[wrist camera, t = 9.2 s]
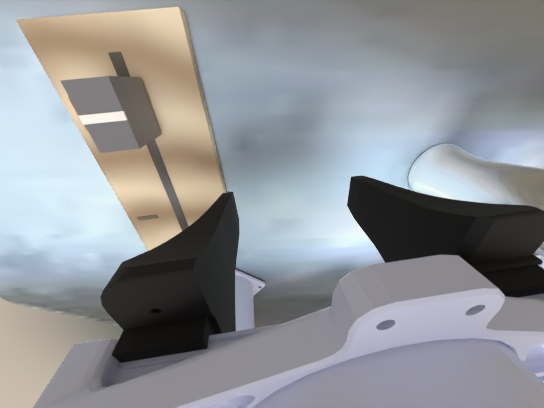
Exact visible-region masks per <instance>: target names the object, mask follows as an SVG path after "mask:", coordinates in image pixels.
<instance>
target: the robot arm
mask: <svg viewBox="0 0 544 408" xmlns="http://www.w3.org/2000/svg"><path fill="white" fill-rule="evenodd" d="M347 206H348V208H349V210H350V212H351V214H352V215H353V217H354V219H355V220H356V221H357V223H358V224H359V225H360V227H361V228H362V229H363V231H364V232H365V233H366V235H367V236H368V237H369V239H370V240H371V241H372V242H373V244H374V245H375V247H376V248H377V250H378V251H379V253H380V254H381V256H382V258H383V259H384V261H385V263H381V264H374V265H368V266H365V267H361V268H358V269H355V270H352V271H351V272H350V273H348V274H347V275H346V276H344V277H343V278H341V279H340V281H339V282H338V284H337V286H336V288H335V290H334V292H333V297H332V304H331V307H327V308H325V309H322V310H319V311H316V312H314V313H311V314H308V315H305V316H303V317H300V318H297V319H294V320H292V321H289V322H286V323H283V324H277V325H271V326H265V327H259V328H254V302H253V296H254V295H255V294H256V293H257V292H259V291H260V290H261V289H262V288H263V287H264V286H265V282H263V281H261V280H259V279H256V278H254V277H252V276H250V275H247V274H245V273H243V272H241V271H238V270H236V269H235V267H236V257H237V249H238V240H239V218H238V213H237V208H236V204H235V199H234V194H233V192H228V193H222V194H221V195H220V197H219V198H218V199H217V200H216V201H215V202H214V203H213V204H212V206H211V207H210V208H209V209H208V210H207V211H206V212H205V213H204V214H203V215H202V216H201V217H200V218H199V219H197V220H196V221H195V222H194V223H193V224H191V225H190V226H189V227H188V228H186V229H185V230H183V231H182V232H180V233H179V234H177V235H176V236H174V237H173V238H171V239H170V240H168V241H166V242H164V243H163V244H161V245H159V246H157V247H155V248H153V249H151V250H149V251H147V252H145V253H143V254H140V255H138V256H136V257H134V258H131V259H129V260H127V261H124V262H122V264H121V265H120V267H119V268H118V269H117V271H116V272H115V274H114V275H113V277H112V278H111V280H110V281H109V283H108V284H107V286H106V287H105V289H104V290H103V292H102V295H101V303H102V305H103V307H104V308H105V310H106V311H107V313H108V314H109V315H110V316H111V317H112V318H113V319H114V320H115V321H116V322H117V323H118V324H119V325H120V327H121V328H122V329H123V330H124V331H123V333H122V335H121V337H120V339H119V341H118V340H116V339H101V340H95V341H88V342H83V343H77V344H75V345H73V347H72V348H71V350H70V351H69V353H68V355H67V356H66V358H65V359H64V361H63V362H62V364H61V365H60V367H59V368H58V370H57V372H56V373H55V375H54V376H53V378H52V379H51V381H50V382H49V384H48V385H47V387H46V389H45V390H44V392H43V393H42V395H41V396H40V398H39V399H38V401H37V402H36V404H35V406H34V407H33V408H544V269H543V268H542V267H540V266H538V265H541V264H542V263H543V261H542V260H541V259H539V258H538V257H536V256H535V255H533V254H534V253H535V251H536V250H537V249H538V248H539V247H540V246H541V244H542V243H543V242H544V211H543V210H541V209H539V208H536V207H533V206H528V205H510V204H491V203H480V202H470V201H461V200H455V199H448V198H442V197H436V196H432V195H427V194H423V193H418V192H414V191H411V190H407V189H404V188H400V187H397V186H394V185H391V184H388V183H385V182H382V181H379V180H376V179H373V178H369V177H365V176H354V177H351V182H350V189H349V196H348V204H347Z"/></svg>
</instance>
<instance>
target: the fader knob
mask: <svg viewBox="0 0 544 408" xmlns="http://www.w3.org/2000/svg"><path fill="white" fill-rule="evenodd" d="M61 83H62V85H63V87H64V89H65V90H66V92H67V94H68V96H69V98H70V99H71V101H72V103H73V105H74V107H75V108H76V110H77V112H78V114H79V118H80V120H81V122H82V124H83V125H85V127H86V128H87V130H88V132H89V134H90V136H91V138H92V139H93V141H94V143H95V145H96V147H97V148H98V150H99V152H100V153H106V152H115V151H123V150H132V149H140V148H142V147H143V146H145V145H146V144H148V143H149V142H151V141H152V140H154V139H155V138H157V137H159V136H160V135H162V134H161V132H160V129H159V126H158V123H157V121H156V118H155V115H154V113H153V110H152V107H151V104H150V102H149V99H148V96H147V93H146V91H145V88H144V85H143V83H142V80H141V77H124V76H103V77H92V78H82V79H71V80H61Z"/></svg>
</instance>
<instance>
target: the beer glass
mask: <svg viewBox="0 0 544 408" xmlns="http://www.w3.org/2000/svg"><path fill="white" fill-rule="evenodd" d="M408 183H409V186H410V187H411V188H412V190H414V191H415V192H418V193H423V194H427V195H432V196H436V197H442V198H448V199H455V200H461V201H470V202H480V203H491V204H510V205H528V206H533V207H536V208H539V209H541V210H543V211H544V169H542V168H536V167H529V166H523V165H516V164H509V163H503V162H497V161H491V160H487V159H483V158H480V157H477V156H475V155H473V154H471V153H469V152H467V151H465V150H464V149H462V148H460V147H458V146H456V145H454V144H449V143H444V144H439V145H436V146H433V147H431V148H430V149H428V150H426V151H425V152H424V153H422V154H421V155H420V156H419V157H418V158H417V159H416V161H415V162H414V163H413V165H412V167H411V169H410V171H409V175H408ZM533 255H535V256H536V257H538V258H539V259H541V260H542V261H543V263H542V264H541V265H538V266H540V267H542V268H543V269H544V242H543V243H542V244H541V246H540V247H539V248H538V249H537V250H536V251H535V253H534V254H533Z"/></svg>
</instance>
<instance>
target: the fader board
mask: <svg viewBox="0 0 544 408" xmlns="http://www.w3.org/2000/svg"><path fill="white" fill-rule="evenodd" d="M16 21H17V23H18V24H19V26H20V28H21V30H22V31H23V33H24V35H25V37H26V38H27V40H28V42H29V44H30V45H31V47H32V49H33V51H34V52H35V54H36V56H37V58H38V59H39V61H40V63H41V65H42V66H43V68H44V70H45V72H46V73H47V75H48V77H49V79H50V80H51V82H52V84H53V86H54V87H55V89H56V91H57V93H58V94H59V96H60V98H61V100H62V101H63V103H64V105H65V107H66V108H67V110H68V112H69V114H70V115H71V117H72V119H73V121H74V122H75V124H76V126H77V128H78V129H79V131H80V133H81V134H82V136H83V138H84V140H85V141H86V143H87V145H88V147H89V148H90V150H91V152H92V154H93V155H94V157H95V159H96V161H97V162H98V164H99V166H100V168H101V169H102V171H103V173H104V175H105V176H106V178H107V180H108V182H109V183H110V185H111V187H112V189H113V190H114V192H115V194H116V196H117V197H118V199H119V201H120V203H121V204H122V206H123V208H124V210H125V211H126V213H127V215H128V217H129V218H130V220H131V222H132V224H133V225H134V227H135V229H136V231H137V232H138V234H139V236H140V238H141V239H142V241H143V243H144V244H145V246H146V248H147V250H148V251H149V250H151V249H153V248H155V247H157V246H159V245H161V244H163V243H164V242H166V241H168V240H170V239H171V238H173V237H174V236H176V235H177V234H179V233H180V232H182V231H183V230H185V229H186V228H188V227H189V226H190V225H191V224H193V223H194V222H195V221H196V220H197V219H199V218H200V217H201V216H202V215H203V214H204V213H205V212H206V211H207V210H208V209H209V208H210V207H211V206H212V204H213V203H214V202H215V201H216V200H217V199H218V198H219V197H220V195H221V194H222V193H227V192H226V188H225V183H224V179H223V175H222V170H221V166H220V162H219V158H218V153H217V149H216V145H215V140H214V136H213V132H212V128H211V123H210V119H209V115H208V110H207V106H206V102H205V97H204V93H203V89H202V85H201V80H200V76H199V72H198V67H197V63H196V59H195V55H194V50H193V46H192V42H191V37H190V33H189V29H188V25H187V20H186V16H185V13H184V12H183V11H182V10H181V8H180V7H169V8H157V9H144V10H131V11H119V12H106V13H93V14H81V15H68V16H55V17H43V18H30V19H18V20H16ZM103 76H124V77H141V80H142V83H143V85H144V88H145V91H146V93H147V96H148V99H149V102H150V104H151V107H152V110H153V113H154V115H155V118H156V121H157V123H158V126H159V129H160V132H161V134H162V135H160V136H159V137H157V138H155V139H154V140H152V141H151V142H149V143H148V144H146V145H145V146H143V147H142V148H140V149H132V150H123V151H115V152H106V153H100V152H99V150H98V148H97V147H96V145H95V143H94V141H93V139H92V138H91V136H90V134H89V132H88V130H87V128H86V127H85V125H83V124H82V122H81V120H80V118H79V114H78V112H77V110H76V108H75V107H74V105H73V103H72V101H71V99H70V98H69V96H68V94H67V92H66V90H65V89H64V87H63V85H62V83H61V80H71V79H82V78H92V77H103Z"/></svg>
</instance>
